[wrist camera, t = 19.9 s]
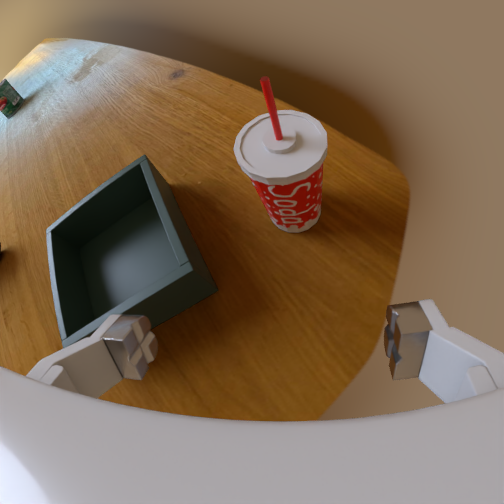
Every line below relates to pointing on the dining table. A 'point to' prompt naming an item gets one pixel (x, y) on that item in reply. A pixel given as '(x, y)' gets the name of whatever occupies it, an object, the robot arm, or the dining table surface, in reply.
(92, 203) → the bin
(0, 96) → the canned tomato
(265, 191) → the beverage cup
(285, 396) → the dining table surface
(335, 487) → the robot arm
